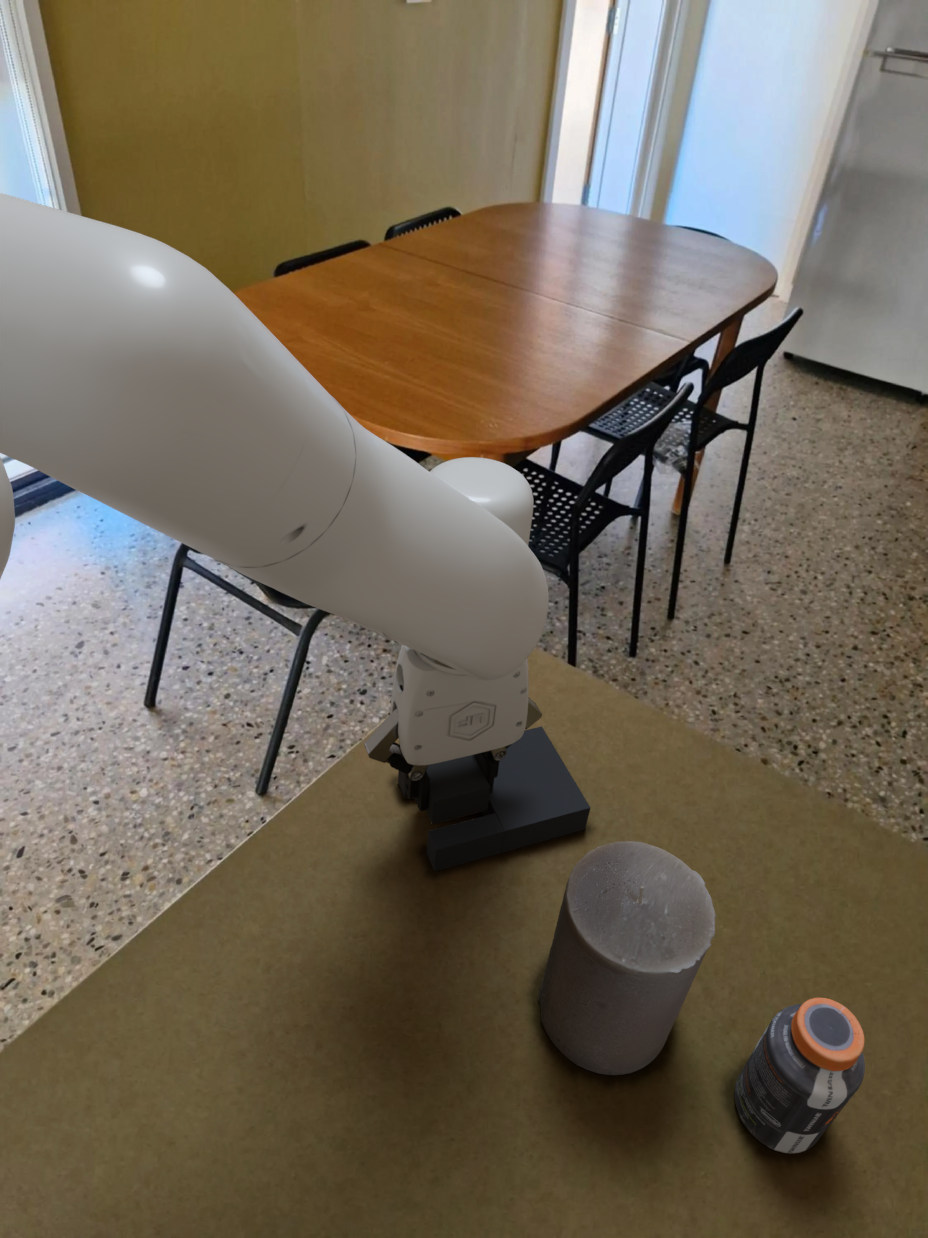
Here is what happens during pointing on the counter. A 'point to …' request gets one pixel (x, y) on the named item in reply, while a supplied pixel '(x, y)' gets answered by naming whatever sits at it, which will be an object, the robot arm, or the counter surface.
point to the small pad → (456, 789)
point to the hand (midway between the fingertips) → (450, 788)
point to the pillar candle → (624, 955)
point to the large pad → (515, 806)
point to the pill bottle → (801, 1074)
